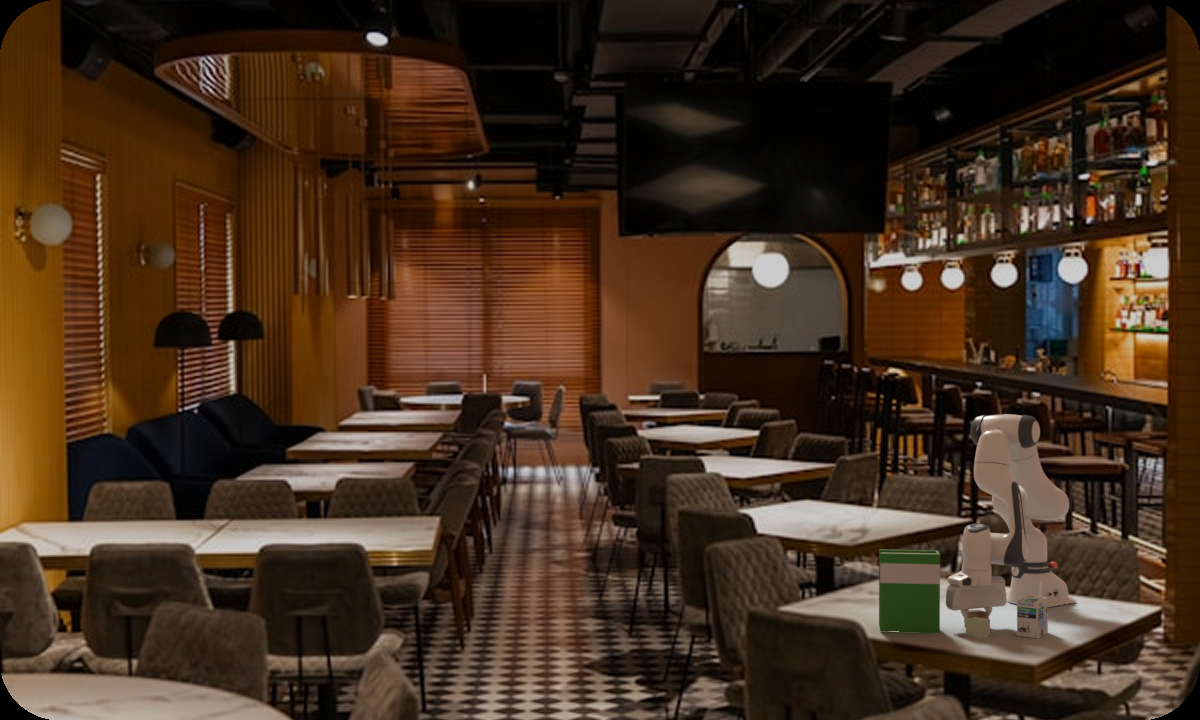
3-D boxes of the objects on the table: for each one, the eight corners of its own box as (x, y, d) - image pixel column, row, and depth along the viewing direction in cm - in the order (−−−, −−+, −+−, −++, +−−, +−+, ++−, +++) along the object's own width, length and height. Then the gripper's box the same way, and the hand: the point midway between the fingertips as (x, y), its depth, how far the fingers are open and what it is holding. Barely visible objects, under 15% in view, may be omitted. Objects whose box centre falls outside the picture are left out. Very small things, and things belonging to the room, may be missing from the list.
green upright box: (880, 632, 445) (880, 553, 444) (878, 626, 452) (879, 549, 452) (939, 633, 443) (940, 554, 442) (937, 628, 450) (937, 550, 449)
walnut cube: (978, 625, 454) (978, 609, 454) (988, 628, 449) (988, 612, 449) (964, 626, 452) (964, 610, 452) (974, 630, 447) (974, 613, 447)
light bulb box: (1038, 639, 435) (1039, 603, 435) (1016, 636, 438) (1016, 600, 438) (1048, 632, 444) (1048, 597, 444) (1026, 630, 447) (1026, 594, 447)
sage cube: (976, 633, 443) (976, 616, 443) (990, 636, 439) (990, 619, 439) (965, 635, 440) (965, 618, 440) (979, 638, 436) (979, 621, 436)
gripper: (998, 573, 457) (998, 617, 457) (942, 578, 449) (942, 623, 450) (1011, 577, 451) (1010, 621, 451) (955, 581, 443) (954, 627, 444)
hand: (976, 622), depth 450 cm, fingers closed on walnut cube, 5 cm apart
